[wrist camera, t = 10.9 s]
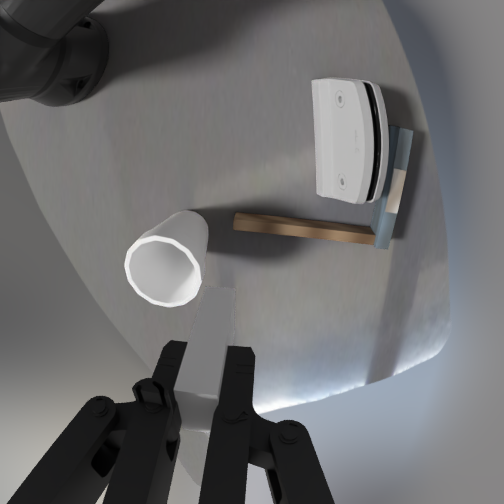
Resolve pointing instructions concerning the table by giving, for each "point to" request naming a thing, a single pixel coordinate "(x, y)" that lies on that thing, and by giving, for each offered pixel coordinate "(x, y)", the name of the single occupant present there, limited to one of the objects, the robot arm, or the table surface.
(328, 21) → the table surface
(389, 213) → the wooden handled mallet
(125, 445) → the robot arm
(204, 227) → the foam cup
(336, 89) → the white piece
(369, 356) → the table surface
